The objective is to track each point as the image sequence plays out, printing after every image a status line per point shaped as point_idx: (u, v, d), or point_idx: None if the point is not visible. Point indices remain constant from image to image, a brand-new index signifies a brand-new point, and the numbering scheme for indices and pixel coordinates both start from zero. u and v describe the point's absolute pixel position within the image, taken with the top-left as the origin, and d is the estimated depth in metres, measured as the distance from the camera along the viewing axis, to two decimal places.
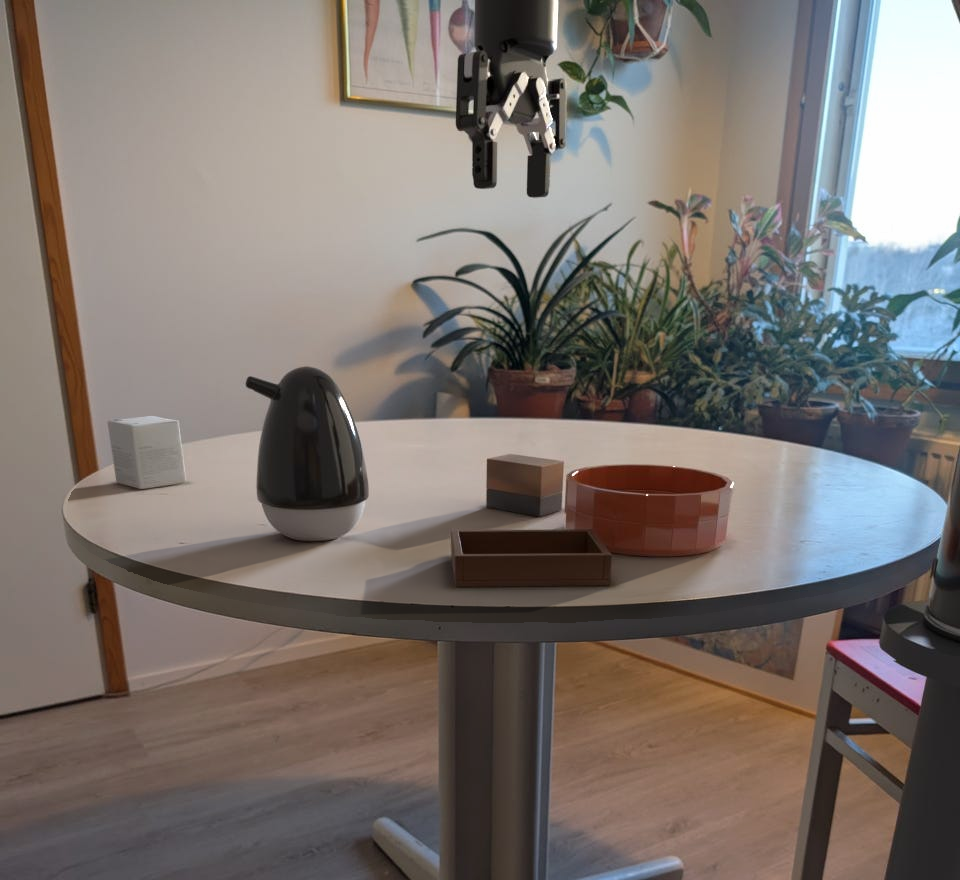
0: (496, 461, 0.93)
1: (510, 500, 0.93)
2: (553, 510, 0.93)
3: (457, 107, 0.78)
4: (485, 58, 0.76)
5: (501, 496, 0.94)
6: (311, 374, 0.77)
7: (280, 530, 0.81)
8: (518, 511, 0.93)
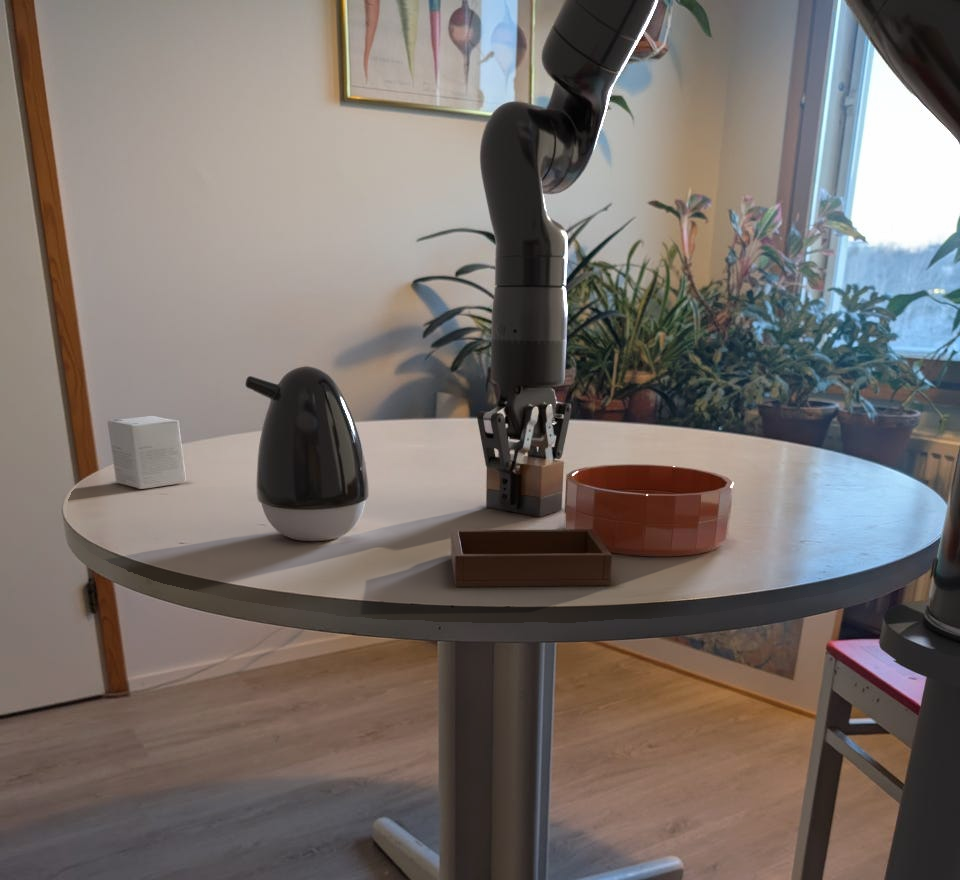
0: None
1: None
2: (553, 510, 0.93)
3: (484, 454, 0.89)
4: (502, 419, 0.86)
5: None
6: (311, 374, 0.77)
7: (280, 530, 0.81)
8: (518, 511, 0.93)
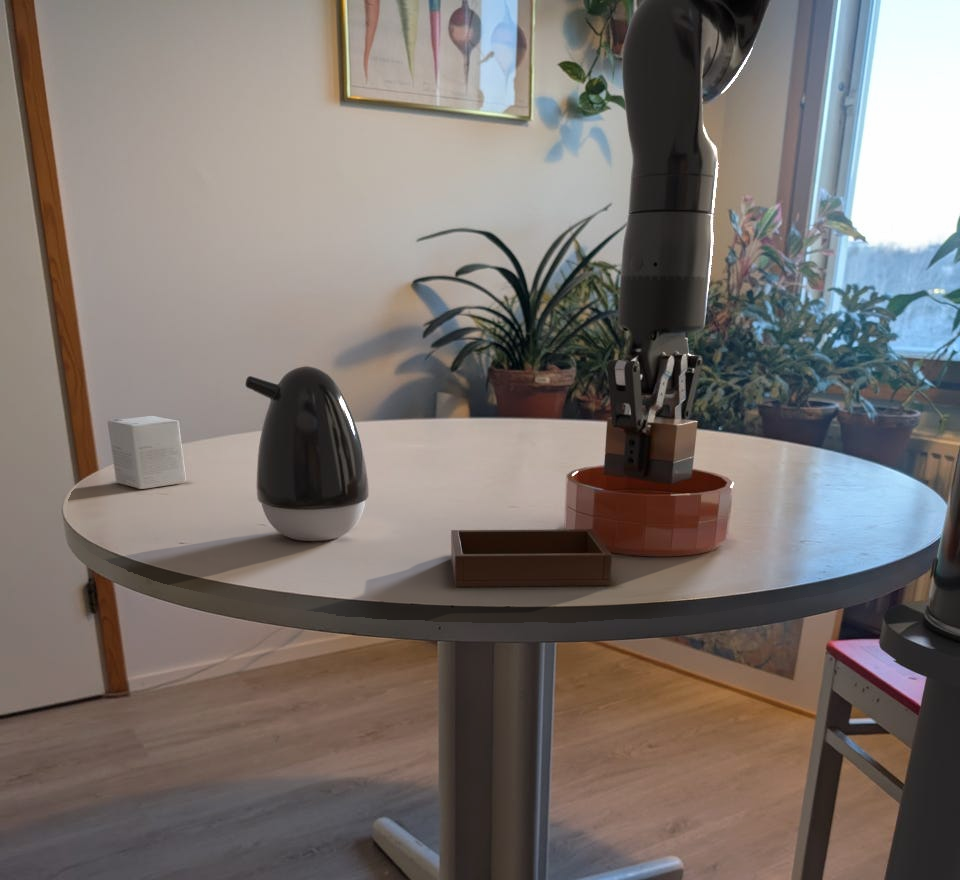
0: None
1: None
2: (684, 477, 0.81)
3: (612, 410, 0.77)
4: (637, 368, 0.74)
5: (623, 462, 0.81)
6: (311, 374, 0.77)
7: (280, 530, 0.81)
8: (644, 478, 0.81)
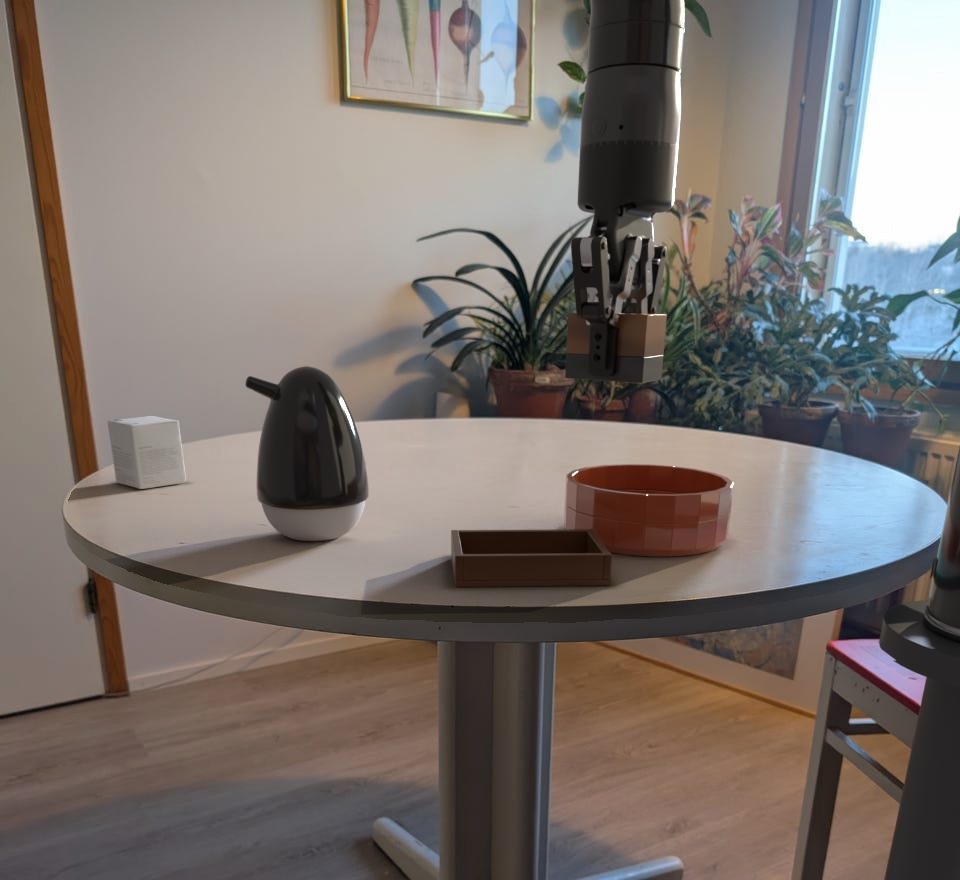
0: None
1: None
2: (654, 377, 0.73)
3: (576, 297, 0.69)
4: (605, 245, 0.66)
5: (587, 362, 0.73)
6: (311, 374, 0.77)
7: (280, 530, 0.81)
8: (611, 378, 0.73)
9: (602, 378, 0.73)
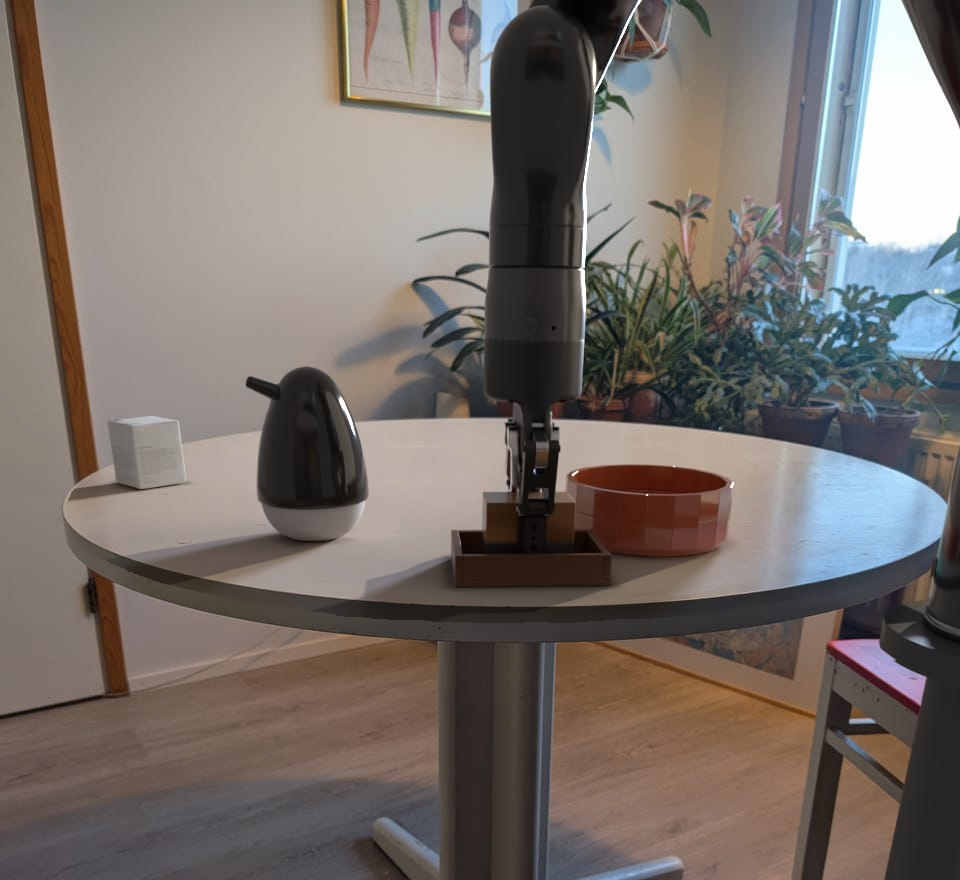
0: (503, 504, 0.69)
1: None
2: None
3: (524, 497, 0.65)
4: (559, 447, 0.64)
5: (511, 550, 0.70)
6: (311, 374, 0.77)
7: (280, 530, 0.81)
8: None
9: None
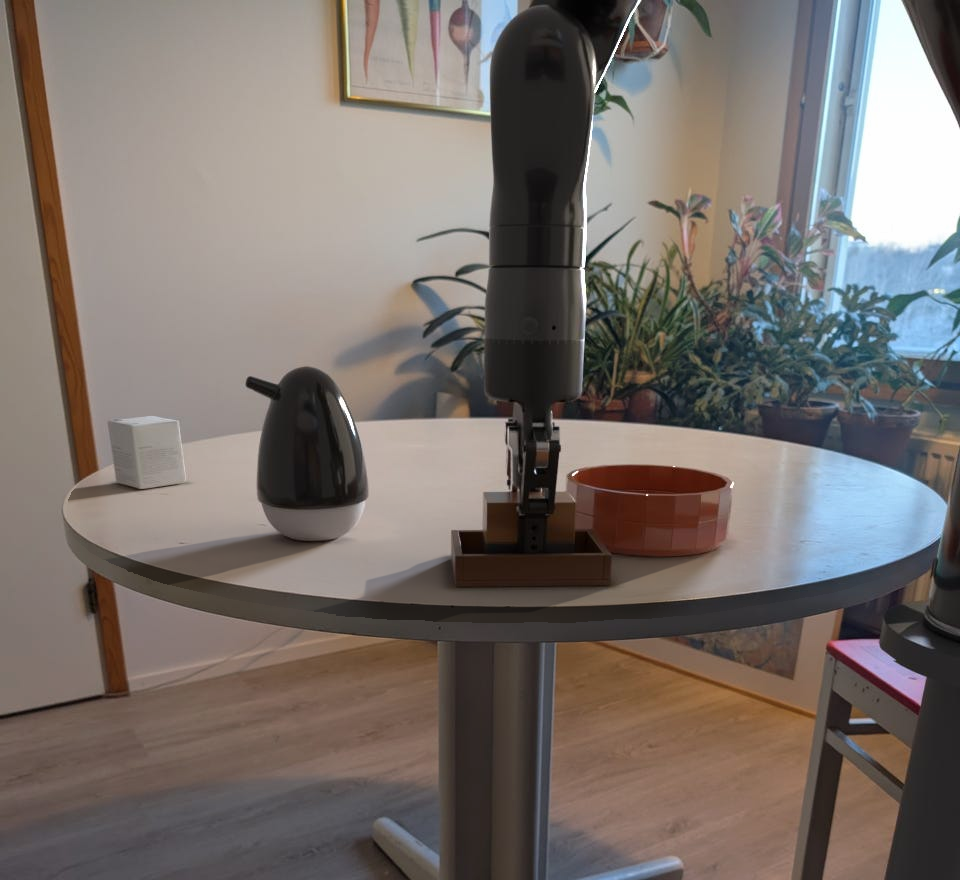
0: (503, 504, 0.69)
1: None
2: None
3: (525, 497, 0.65)
4: None
5: (511, 549, 0.70)
6: (311, 374, 0.77)
7: (280, 530, 0.81)
8: None
9: None
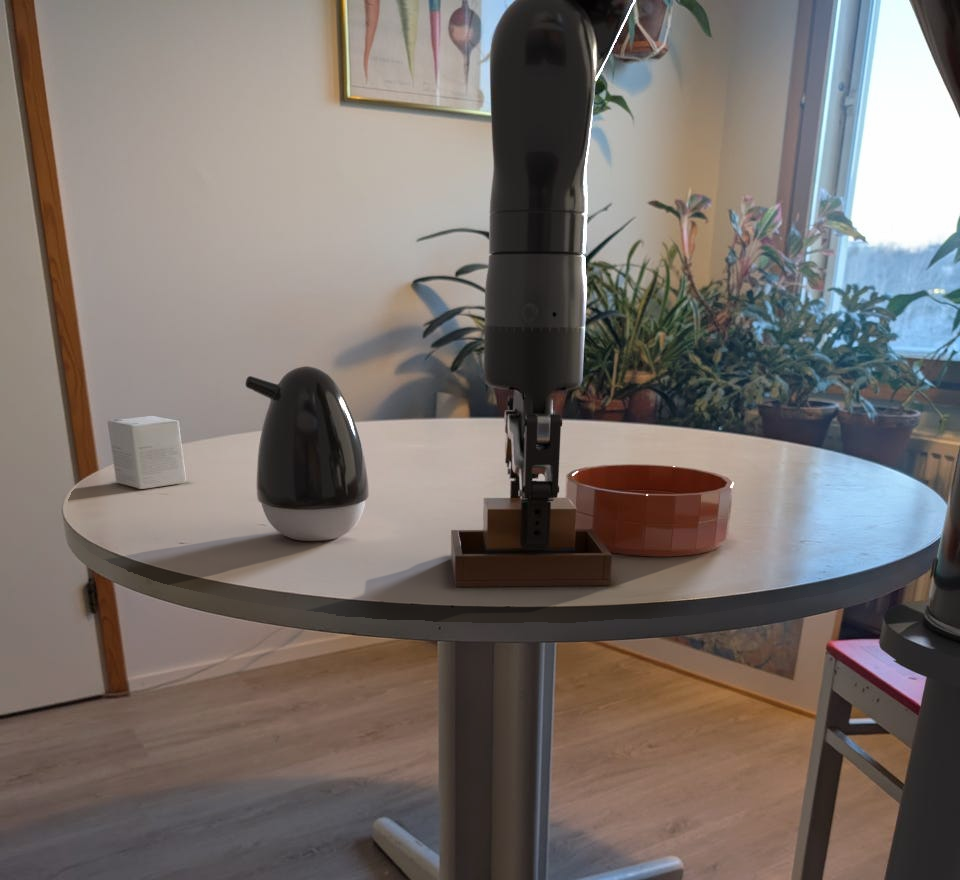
0: (504, 511, 0.69)
1: None
2: None
3: (527, 475, 0.64)
4: None
5: None
6: (311, 374, 0.77)
7: (280, 530, 0.81)
8: None
9: None
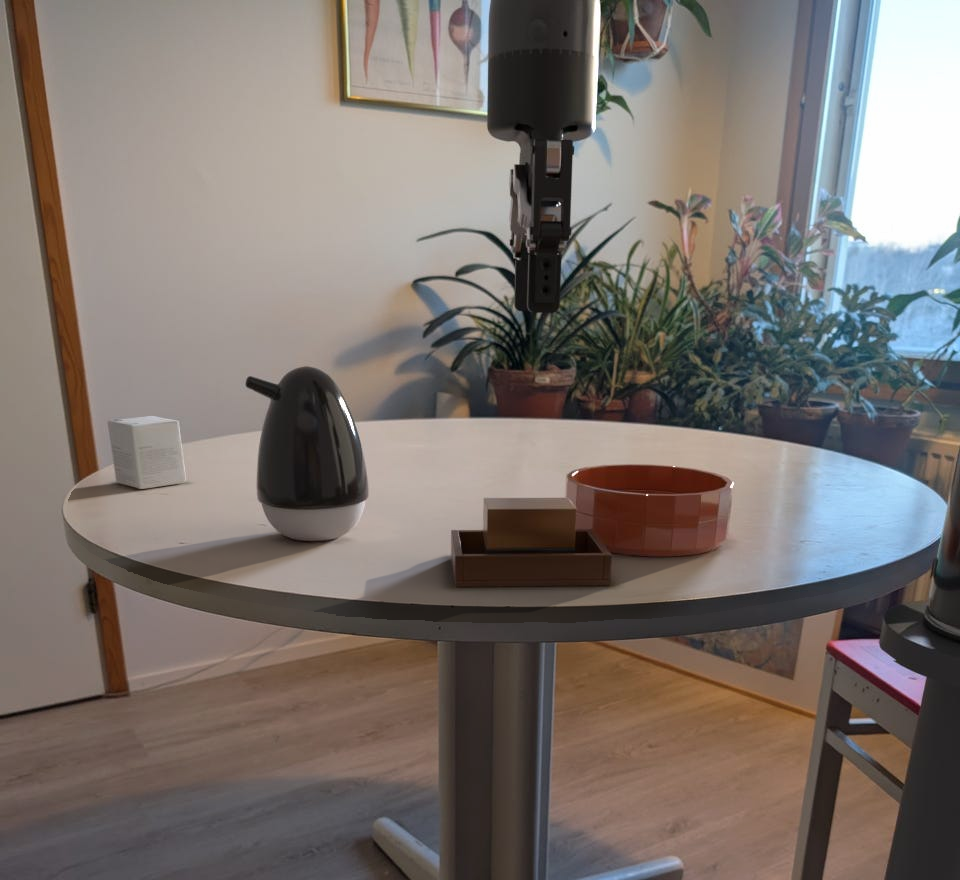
0: (504, 511, 0.69)
1: None
2: None
3: (536, 210, 0.57)
4: None
5: None
6: (311, 374, 0.77)
7: (280, 530, 0.81)
8: None
9: None
